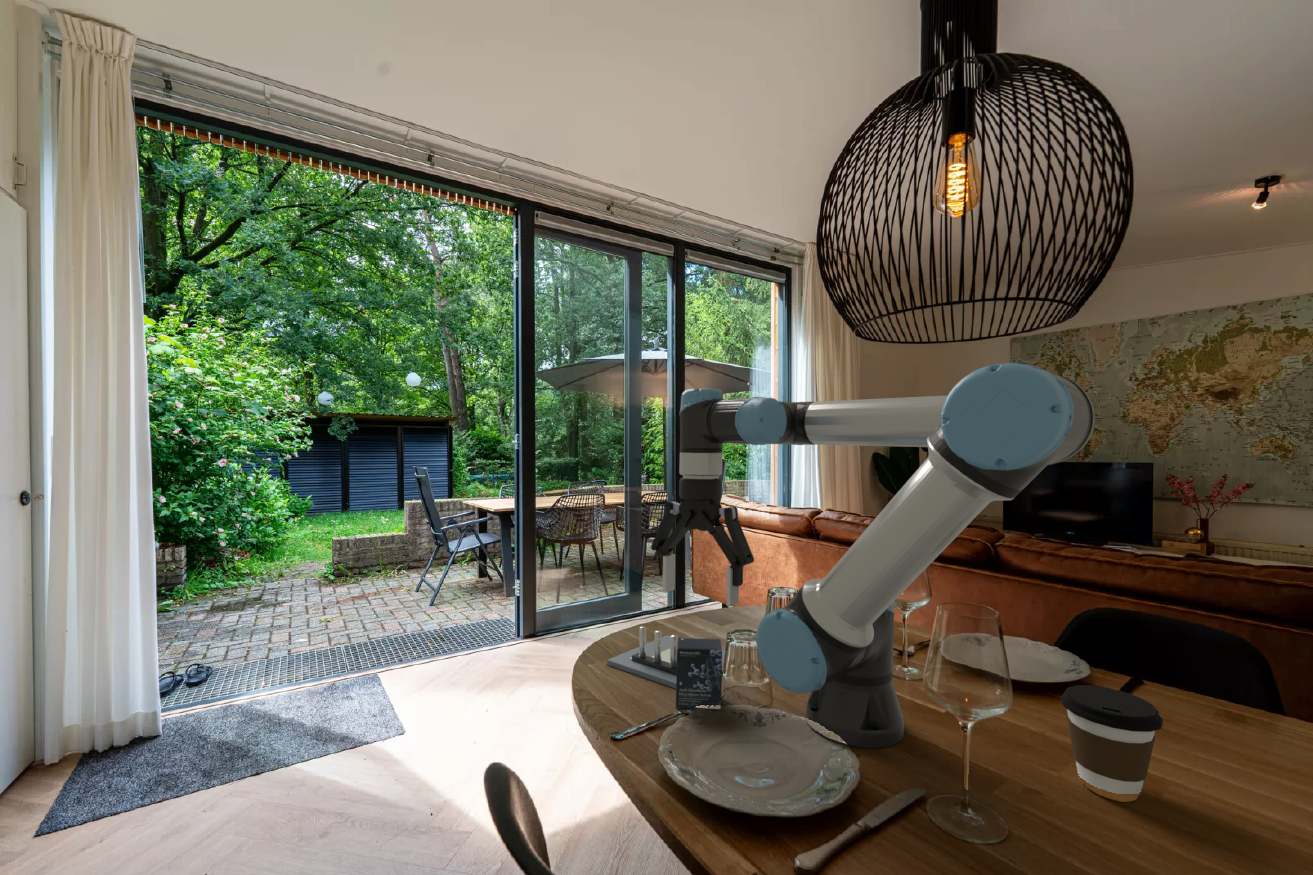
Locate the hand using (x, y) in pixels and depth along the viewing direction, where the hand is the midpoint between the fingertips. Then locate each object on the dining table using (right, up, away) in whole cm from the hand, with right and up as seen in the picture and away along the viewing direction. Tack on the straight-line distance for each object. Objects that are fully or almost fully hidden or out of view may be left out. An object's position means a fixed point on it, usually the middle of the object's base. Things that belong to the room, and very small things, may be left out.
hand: (699, 597), depth 104 cm
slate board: (-4, -18, +18) cm, 26 cm away
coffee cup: (+54, -20, -24) cm, 62 cm away
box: (0, -19, 0) cm, 19 cm away
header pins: (-7, -17, +13) cm, 23 cm away
